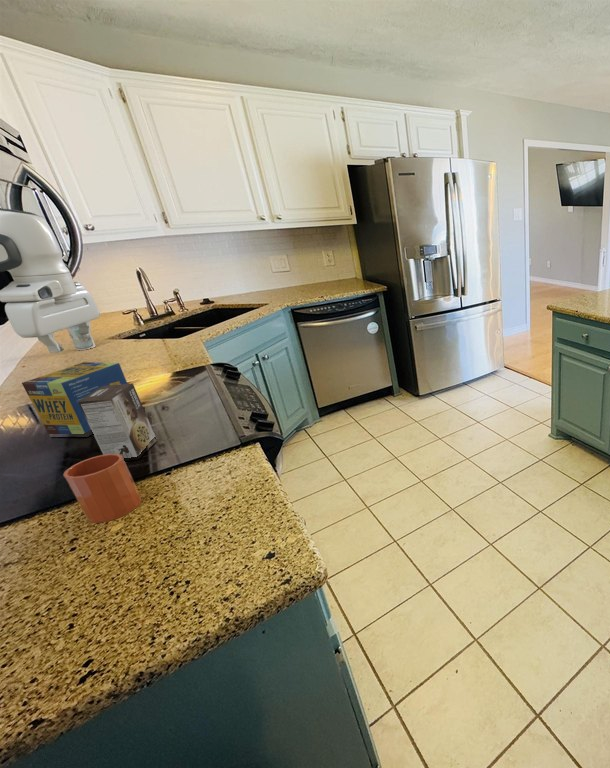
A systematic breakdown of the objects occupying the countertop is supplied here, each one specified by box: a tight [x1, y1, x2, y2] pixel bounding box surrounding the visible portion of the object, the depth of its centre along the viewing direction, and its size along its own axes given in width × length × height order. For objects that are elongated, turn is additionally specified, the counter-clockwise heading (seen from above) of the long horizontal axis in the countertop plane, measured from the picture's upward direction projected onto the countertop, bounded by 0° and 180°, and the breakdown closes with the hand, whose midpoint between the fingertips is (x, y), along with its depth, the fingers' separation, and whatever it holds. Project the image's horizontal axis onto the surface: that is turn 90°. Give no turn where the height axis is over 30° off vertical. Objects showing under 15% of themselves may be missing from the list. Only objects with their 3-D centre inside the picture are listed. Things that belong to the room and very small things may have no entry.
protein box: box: [21, 361, 128, 435], centre depth 108 cm, size 10×15×16 cm
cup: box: [63, 454, 142, 524], centre depth 76 cm, size 8×8×10 cm
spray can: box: [65, 325, 96, 351], centre depth 174 cm, size 6×6×20 cm
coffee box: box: [78, 382, 156, 459], centre depth 94 cm, size 9×6×16 cm
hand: (72, 346), depth 97 cm, fingers open, 8 cm apart
